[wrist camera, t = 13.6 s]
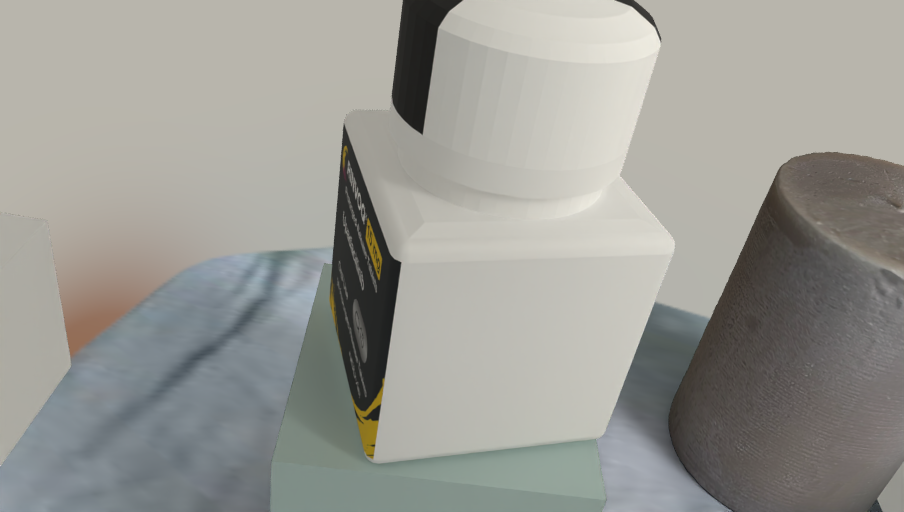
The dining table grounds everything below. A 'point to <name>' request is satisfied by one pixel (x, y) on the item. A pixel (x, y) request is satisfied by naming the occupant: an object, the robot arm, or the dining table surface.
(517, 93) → the medicine bottle
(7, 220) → the robot arm
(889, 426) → the pillar candle
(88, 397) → the dining table surface
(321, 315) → the tower top block
